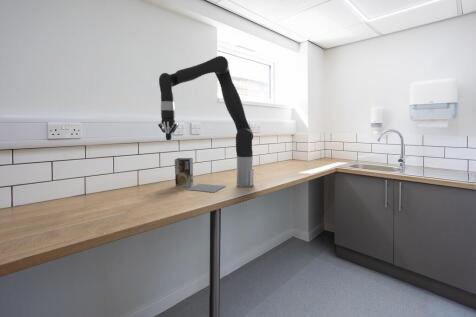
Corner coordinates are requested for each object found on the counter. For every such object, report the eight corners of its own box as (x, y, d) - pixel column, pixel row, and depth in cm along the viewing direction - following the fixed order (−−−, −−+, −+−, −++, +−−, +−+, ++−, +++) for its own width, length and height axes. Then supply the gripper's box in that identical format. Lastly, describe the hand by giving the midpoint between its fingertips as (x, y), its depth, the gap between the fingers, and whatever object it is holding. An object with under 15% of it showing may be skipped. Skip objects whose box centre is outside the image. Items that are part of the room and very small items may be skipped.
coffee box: (193, 184, 155) (193, 157, 153) (190, 187, 149) (190, 159, 147) (178, 184, 156) (177, 157, 154) (175, 187, 150) (174, 159, 148)
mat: (226, 186, 151) (226, 185, 151) (214, 192, 137) (214, 192, 137) (199, 184, 158) (199, 183, 157) (185, 189, 144) (185, 189, 144)
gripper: (181, 110, 152) (182, 140, 154) (162, 110, 156) (163, 139, 159) (173, 109, 145) (174, 140, 147) (154, 109, 149) (155, 140, 152)
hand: (168, 140), depth 153 cm, fingers closed
